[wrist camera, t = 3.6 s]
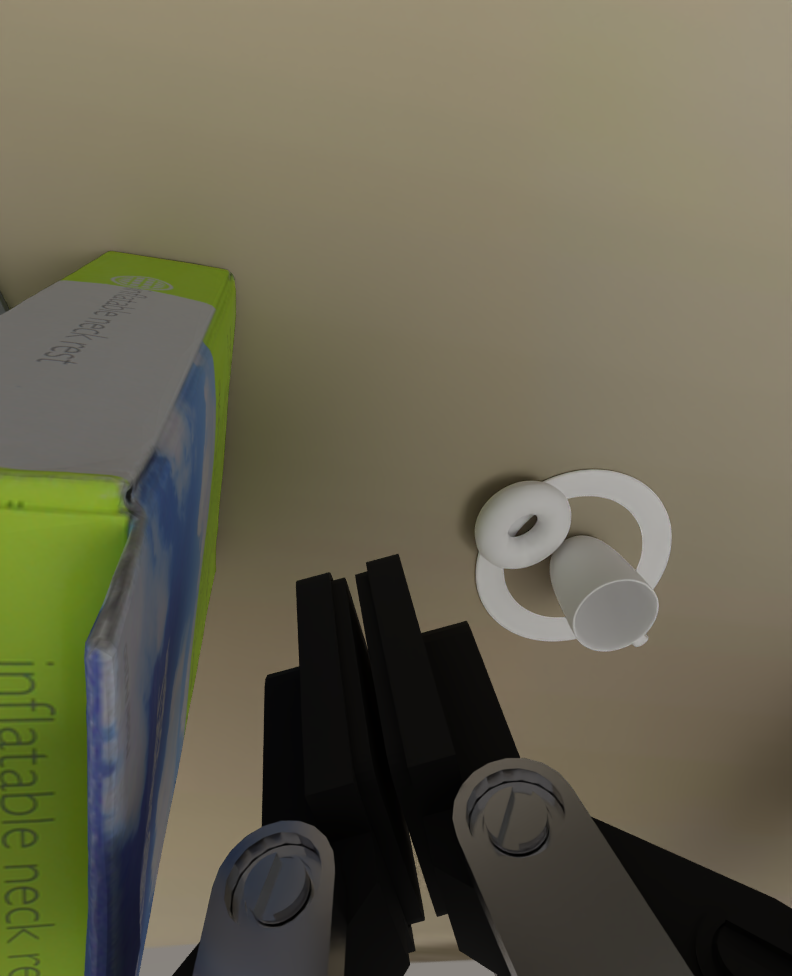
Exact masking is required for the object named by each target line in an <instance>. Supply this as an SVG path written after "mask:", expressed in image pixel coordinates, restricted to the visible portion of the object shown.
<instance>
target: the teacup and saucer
mask: <svg viewBox="0 0 792 976" xmlns="http://www.w3.org/2000/svg"><path fill="white" fill-rule="evenodd" d="M580 496H597V497H603V498H607V499H610V500H613V501H615V502H617V503H619V504H621V505H622V506H624V507H625V508H626V509H627V510H629V511H630V512H631V514H632V515H633V516H634V517H635V519H636V521H637V522H638V524H639V527H640V530H641V534H642V554H641V558H640V561H639V564H638V566H637V569H636V570H635V569H634V568H633V567H632V566H631V565H630V564H629V563H628V562H627V561H626V560H625V559H624V558H623V557H622V556H621V555H620V554H619V553H618V552H617V551H616V550H614V549H613V548H612V547H611V546H609V545H608V544H606V543H605V542H603V541H601V540H599V539H597V538H594V537H591V536H584V535H580V536H574V537H571V538H568V539H567V540H565V541H564V539H565V538H566V536H567V534H568V531H569V528H570V524H571V508H570V505H569V502H568V500H567V499H569V498H573V497H580ZM534 515H536V516H537V519H538V520H537V522H536V524H535V525H534V527H533V528H532V529H531V530H529V531H528V532H527V533H525V534H523V535H520V536H517V537H514V536H515V535H516V533H517V532H518V531H519V529H520V528H521V527H522V526H523V525H524V524H525V523H526V522H527V521H528V520H529V519H530V518H531V517H533V516H534ZM475 540H476V545H477V548H478V550H479V553H478V557H477V562H476V585H477V590H478V594H479V597H480V599H481V601H482V603H483V605H484V607H485V609H486V610H487V612H488V613H489V614H490V615H491V617H492V618H493V619H494V620H495V621H496V622H497V623H499V624H500V625H501V626H502V627H504V628H505V629H507V630H509V631H510V632H512V633H515V634H517V635H519V636H522V637H525V638H529V639H533V640H539V641H567V640H573V639H577V640H578V641H579V642H580V643H581V644H582V645H583V646H585V647H587V648H589V649H592V650H595V651H614V650H618V649H622V648H624V647H627V646H629V645H631V644H632V645H633V646H635V647H639V646H641V645H643V644H644V643H646V642H647V641H648V636H647V634H646V633H647V632H648V630H649V629H650V628H651V627H652V625H653V623H654V621H655V619H656V617H657V614H658V608H659V604H658V598H657V595H656V593H655V592H654V590H653V589H654V588H655V586H656V585H657V583H658V581H659V580H660V578H661V576H662V574H663V572H664V570H665V567H666V565H667V562H668V559H669V555H670V550H671V542H672V532H671V524H670V520H669V516H668V514H667V511H666V509H665V507H664V505H663V503H662V502H661V500H660V499H659V497H658V496H657V495H656V494H655V493H654V492H653V491H652V490H651V489H650V488H649V487H648V486H647V485H645V484H644V483H642V482H641V481H639V480H637V479H635V478H633V477H631V476H629V475H626V474H623V473H620V472H615V471H610V470H600V469H589V470H579V471H573V472H568V473H564V474H561V475H558V476H555V477H552V478H549V479H547V480H545V481H543V482H540V481H522V482H517V483H514V484H511V485H509V486H507V487H505V488H503V489H501V490H500V491H498V492H497V493H496V494H494V495H493V496H492V497H491V498H490V499H489V500H488V501H487V502H486V503H485V505H484V506H483V507H482V509H481V511H480V513H479V515H478V517H477V520H476V524H475ZM552 553H553V554H552ZM551 554H552V556H551V560H550V578H551V583H552V586H553V589H554V592H555V595H556V598H557V600H558V602H559V605H560V607H561V609H562V611H563V613H564V615H565V617H546V616H542V615H538V614H535V613H533V612H530V611H528V610H527V609H525V608H523V607H522V606H521V605H519V604H518V603H517V602H516V601H515V600H514V598H513V597H512V596H511V594H510V592H509V591H508V588H507V586H506V583H505V578H504V568H505V569H520V568H525V567H529V566H531V565H534V564H537V563H539V562H541V561H542V560H544V559H545V558H547V557H548V556H549V555H551Z"/></svg>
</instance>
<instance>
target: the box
mask: <svg viewBox="0 0 792 976" xmlns="http://www.w3.org/2000/svg"><path fill="white" fill-rule="evenodd" d="M235 319H236V289H235V279H234V276H233V274H232V273H231V272H229V271H228V270H225V269H220V268H214V267H208V266H203V265H197V264H191V263H185V262H178V261H172V260H165V259H159V258H153V257H146V256H140V255H133V254H127V253H120V252H114V251H108V252H107V253H105V254H103V255H102V256H100V257H99V258H97V259H96V260H94V261H92V262H90V263H88V264H87V265H85V266H83V267H82V268H80V269H79V270H77V271H76V272H74V273H72V274H70V275H68V276H67V277H65V278H63V279H61V280H60V281H58V282H56V283H54V284H53V285H51V286H49V287H47V288H45V289H43V290H41V291H40V292H38V293H37V294H35V295H33V296H32V297H30V298H28V299H26V300H24V301H23V302H21V303H20V304H18V305H17V306H15V307H14V308H12V309H11V310H9V311H7V312H5V313H3V314H2V315H0V976H139V972H140V966H141V960H142V955H143V950H144V944H145V939H146V934H147V929H148V923H149V918H150V913H151V907H152V901H153V896H154V890H155V885H156V879H157V873H158V868H159V863H160V858H161V853H162V848H163V843H164V838H165V833H166V827H167V822H168V817H169V812H170V807H171V803H172V798H173V793H174V788H175V783H176V778H177V773H178V768H179V762H180V757H181V751H182V746H183V740H184V735H185V729H186V723H187V718H188V712H189V707H190V702H191V697H192V692H193V687H194V682H195V677H196V672H197V666H198V660H199V655H200V650H201V644H202V639H203V633H204V626H205V620H206V615H207V609H208V604H209V599H210V594H211V589H212V585H213V580H214V575H215V572H216V538H217V531H218V515H219V503H220V493H221V484H222V475H223V463H224V452H225V436H226V423H227V409H228V393H229V382H230V373H231V362H232V352H233V342H234V331H235Z"/></svg>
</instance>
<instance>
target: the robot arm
mask: <svg viewBox="0 0 792 976" xmlns="http://www.w3.org/2000/svg"><path fill="white" fill-rule="evenodd" d="M366 566H367V572H363V573H360V574H356V575H355V578H356V584H357V589H358V595H359V601H360V606H361V612H362V618H363V624H364V629H365V635H366V641H367V645H366V642H365V639H364V636H363V633H362V629H361V626H360V623H359V620H358V616H357V613H356V610H355V607H354V603H353V600H352V597H351V594H350V591H349V587H348V584H347V581H346V579H345V578H341V579H337V580H334V581H333V578H332V575H331V573H330V572H328V573H325V574H321V575H317V576H313V577H310V578H306V579H302V580H298V581H297V582H296V598H297V622H298V645H299V667H295V668H291V669H288V670H284V671H280V672H277V673H273V674H269V675H267V677H266V679H265V697H264V746H263V794H262V827H261V828H259V829H258V830H256V831H254V832H253V833H251V834H249V835H247V836H246V837H245V838H244V839H243V840H242V841H241V842H240V843H239V844H237V845H236V846H235V847H234V848H233V849H232V850H231V852H230V853H229V854H228V856H227V857H226V859H225V860H224V862H223V863H222V865H221V866H220V868H219V871H218V873H217V876H216V879H215V881H214V884H213V887H212V891H211V896H210V900H209V904H208V909H207V913H206V918H205V922H204V927H203V931H202V935H201V940H200V942H199V943H198V945H197V946H196V947H195V948H194V950H193V951H192V952H191V953H190V954H189V956H188V957H187V958H186V959H185V961H184V962H183V963H182V964H181V966H180V967H179V968H178V969H177V970H176V972H175V973H174V974H173V975H172V976H404V974H405V972H406V971H407V969H408V967H409V966H410V961H409V954H408V953H410V952H414V951H415V945H414V939H413V933H412V927H411V924H414V923H417V922H421V921H424V920H425V917H424V910H423V904H422V899H421V894H420V888H419V883H418V878H417V872H416V867H415V862H414V856H413V851H412V846H411V840H410V836H411V839H412V842H413V845H414V848H415V851H416V854H417V857H418V861H419V864H420V867H421V870H422V873H423V876H424V879H425V882H426V885H427V888H428V891H429V894H430V897H431V900H432V903H433V906H434V910H435V913H436V915H437V917H438V916H442V915H445V914H448V915H449V919H450V922H451V925H452V928H453V932H454V935H455V938H456V941H457V944H458V948H459V951H461V952H463V953H464V954H466V955H467V956H469V957H470V958H472V959H473V960H475V961H477V962H478V963H480V964H481V965H483V966H485V967H486V968H488V969H489V970H491V971H492V972H494V974H495V976H792V908H790V907H788V906H786V905H785V904H783V903H781V902H780V901H778V900H776V899H775V898H772V897H770V896H768V895H766V894H763V893H761V892H759V891H757V890H755V889H752V888H750V887H748V886H746V885H743V884H741V883H739V882H737V881H734V880H732V879H730V878H728V877H725V876H723V875H721V874H719V873H716V872H714V871H712V870H710V869H707V868H705V867H703V866H701V865H698V864H696V863H694V862H692V861H689V860H687V859H685V858H683V857H681V856H678V855H676V854H674V853H672V852H669V851H667V850H665V849H663V848H660V847H658V846H656V845H654V844H651V843H649V842H647V841H645V840H642V839H640V838H638V837H636V836H633V835H631V834H629V833H627V832H624V831H622V830H620V829H618V828H615V827H613V826H611V825H609V824H607V823H604V822H602V821H600V820H598V819H595V818H593V817H591V816H590V815H589V813H588V812H587V810H586V809H585V807H584V805H583V804H582V802H581V801H580V799H579V798H578V796H577V795H576V793H575V792H574V790H573V788H572V787H571V786H570V784H569V783H568V782H567V781H566V780H565V779H564V778H563V777H562V776H561V774H560V773H559V772H557V771H555V770H554V769H552V768H550V767H549V766H547V765H545V764H544V763H541V762H537V761H534V760H530V759H526V758H520V756H519V754H518V751H517V748H516V746H515V743H514V741H513V738H512V735H511V733H510V730H509V728H508V725H507V722H506V720H505V717H504V715H503V712H502V709H501V707H500V704H499V702H498V699H497V696H496V694H495V691H494V689H493V686H492V683H491V681H490V678H489V676H488V673H487V670H486V668H485V665H484V663H483V660H482V657H481V655H480V652H479V650H478V647H477V644H476V642H475V639H474V637H473V634H472V631H471V629H470V627H469V624H468V623H467V621H464V622H461V623H457V624H453V625H449V626H446V627H442V628H438V629H435V630H431V631H427V632H424V633H421V631H420V628H419V624H418V621H417V617H416V614H415V610H414V607H413V603H412V600H411V596H410V593H409V589H408V586H407V582H406V579H405V575H404V571H403V568H402V564H401V561H400V557H399V554H396V555H392V556H388V557H384V558H381V559H377V560H373V561H369V562H366ZM367 646H368V649H367ZM409 833H410V835H409Z"/></svg>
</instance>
